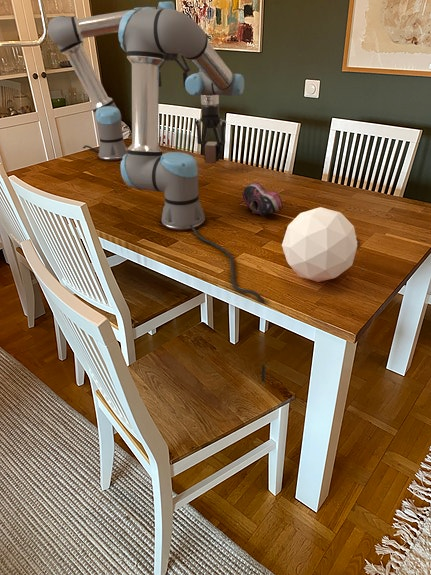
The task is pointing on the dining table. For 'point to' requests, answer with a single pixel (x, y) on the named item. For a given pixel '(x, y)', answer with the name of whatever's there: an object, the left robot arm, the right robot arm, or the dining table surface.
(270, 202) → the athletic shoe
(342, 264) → the sphere
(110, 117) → the left robot arm
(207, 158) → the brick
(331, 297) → the dining table surface
